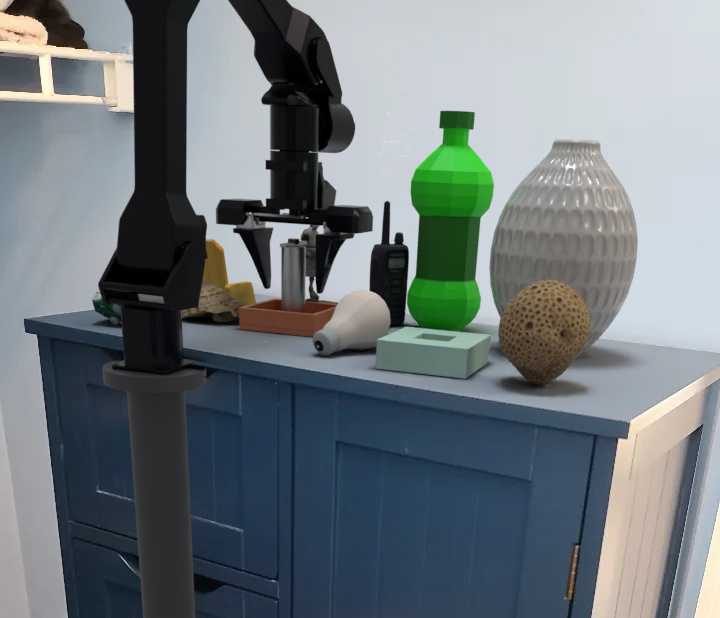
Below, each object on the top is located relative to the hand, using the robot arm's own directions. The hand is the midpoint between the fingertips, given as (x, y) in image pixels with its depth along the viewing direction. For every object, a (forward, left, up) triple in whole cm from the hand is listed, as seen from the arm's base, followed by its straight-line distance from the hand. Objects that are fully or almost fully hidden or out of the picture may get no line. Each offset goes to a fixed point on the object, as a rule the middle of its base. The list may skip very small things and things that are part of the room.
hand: (293, 290), depth 119 cm
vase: (+1, -33, -5) cm, 33 cm away
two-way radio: (+10, -9, -5) cm, 14 cm away
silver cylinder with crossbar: (0, 0, -4) cm, 4 cm away
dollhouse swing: (+11, +18, -5) cm, 22 cm away
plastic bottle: (+10, -17, -5) cm, 20 cm away
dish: (0, 0, -4) cm, 4 cm away
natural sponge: (-18, -35, -5) cm, 40 cm away
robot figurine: (+14, +3, -5) cm, 15 cm away
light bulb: (-11, -12, -5) cm, 17 cm away
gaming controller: (-9, +18, -5) cm, 21 cm away
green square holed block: (-14, -23, -4) cm, 28 cm away
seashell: (0, +11, -5) cm, 12 cm away
